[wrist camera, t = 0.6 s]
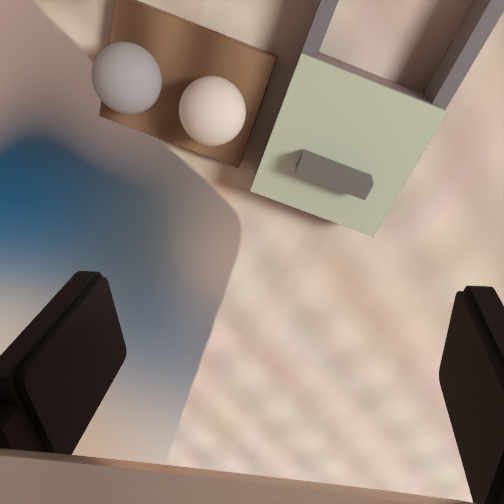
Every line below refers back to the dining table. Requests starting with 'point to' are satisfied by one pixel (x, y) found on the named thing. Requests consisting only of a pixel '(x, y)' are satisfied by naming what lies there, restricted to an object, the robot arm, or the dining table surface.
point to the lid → (344, 145)
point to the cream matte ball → (212, 110)
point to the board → (189, 73)
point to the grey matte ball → (126, 77)
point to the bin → (451, 67)
